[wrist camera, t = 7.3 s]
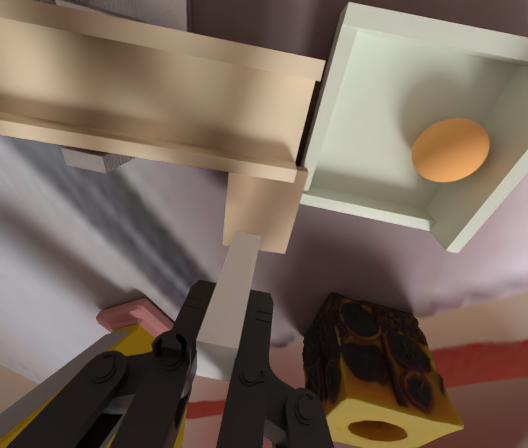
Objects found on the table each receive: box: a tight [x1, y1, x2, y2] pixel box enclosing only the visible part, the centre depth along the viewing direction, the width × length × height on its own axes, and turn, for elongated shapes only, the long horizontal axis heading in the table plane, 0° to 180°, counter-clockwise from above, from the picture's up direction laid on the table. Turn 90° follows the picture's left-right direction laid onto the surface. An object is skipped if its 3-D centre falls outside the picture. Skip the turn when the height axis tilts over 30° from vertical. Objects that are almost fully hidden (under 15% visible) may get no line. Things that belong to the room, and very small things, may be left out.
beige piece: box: [0, 0, 325, 254], centre depth 14 cm, size 25×13×4 cm, turn 81°
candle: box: [302, 293, 464, 448], centre depth 25 cm, size 10×10×10 cm
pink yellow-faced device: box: [0, 298, 187, 448], centre depth 27 cm, size 22×9×22 cm, turn 29°
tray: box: [300, 2, 528, 253], centre depth 14 cm, size 11×11×5 cm
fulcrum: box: [55, 0, 192, 173], centre depth 14 cm, size 8×10×6 cm
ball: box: [412, 118, 490, 182], centre depth 14 cm, size 4×4×4 cm
